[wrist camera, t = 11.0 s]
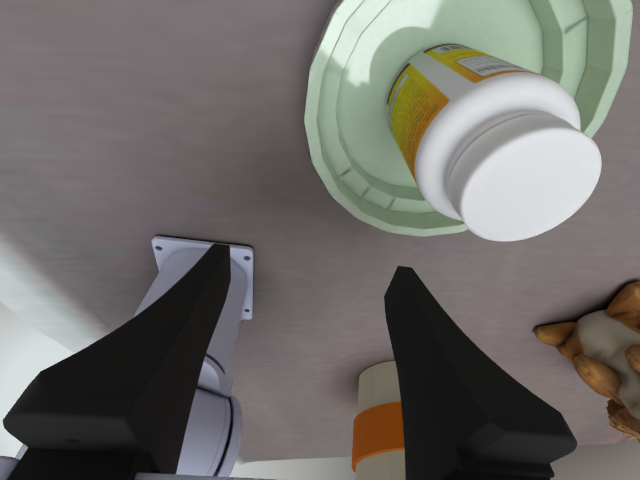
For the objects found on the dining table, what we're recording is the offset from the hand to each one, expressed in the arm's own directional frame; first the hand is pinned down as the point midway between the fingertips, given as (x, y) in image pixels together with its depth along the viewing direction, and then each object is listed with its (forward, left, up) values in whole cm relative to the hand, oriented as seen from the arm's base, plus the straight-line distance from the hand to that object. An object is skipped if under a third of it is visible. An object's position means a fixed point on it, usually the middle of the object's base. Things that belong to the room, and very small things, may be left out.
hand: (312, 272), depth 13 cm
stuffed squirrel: (-13, -32, -10) cm, 36 cm away
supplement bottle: (+6, -6, -9) cm, 12 cm away
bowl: (+6, -6, -10) cm, 13 cm away
